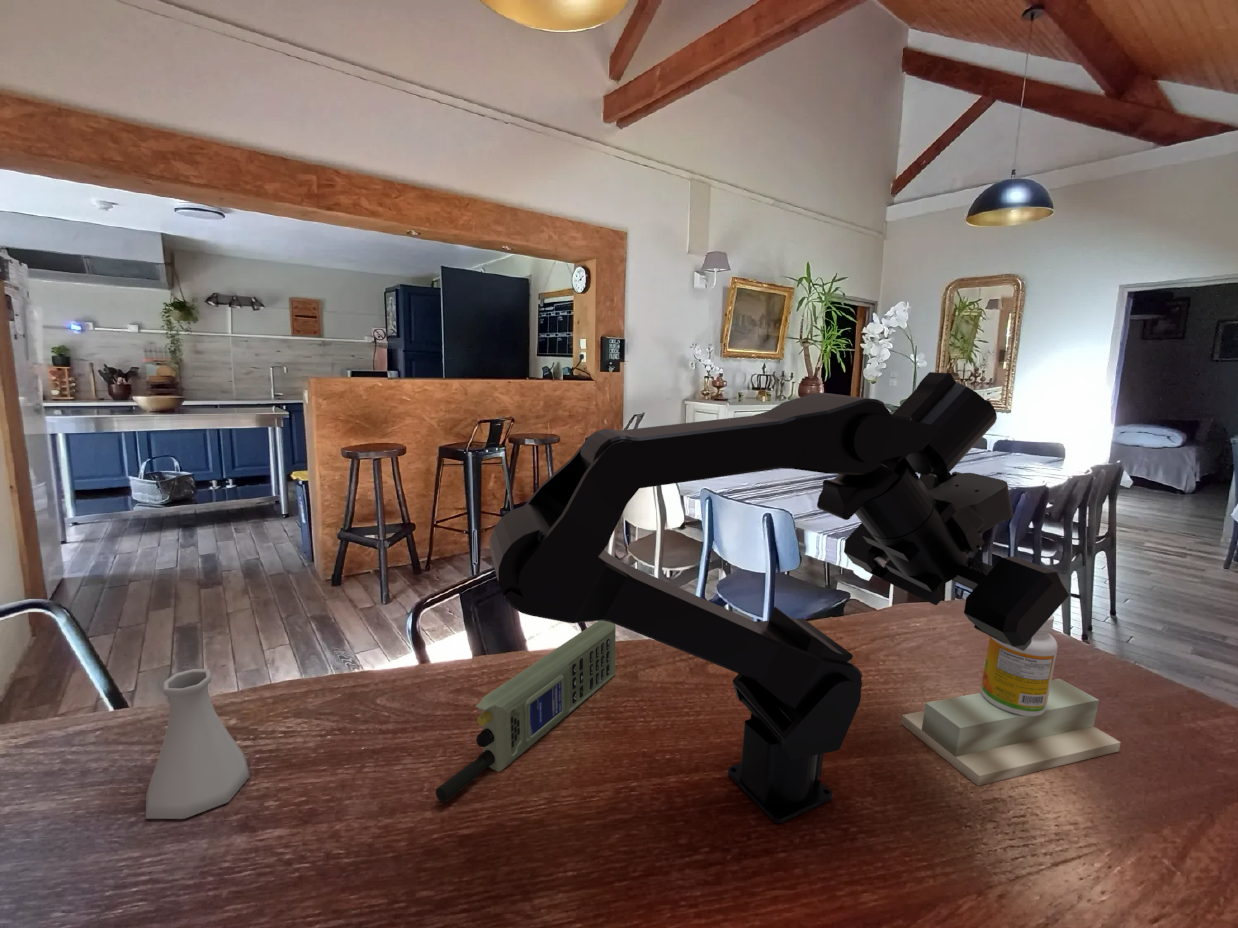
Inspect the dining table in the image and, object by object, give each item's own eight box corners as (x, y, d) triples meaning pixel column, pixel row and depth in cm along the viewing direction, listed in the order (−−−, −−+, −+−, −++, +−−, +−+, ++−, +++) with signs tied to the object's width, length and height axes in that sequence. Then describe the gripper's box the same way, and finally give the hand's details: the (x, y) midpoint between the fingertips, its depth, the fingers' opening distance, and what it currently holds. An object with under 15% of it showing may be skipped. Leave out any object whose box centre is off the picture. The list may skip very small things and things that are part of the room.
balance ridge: (977, 785, 51) (984, 745, 50) (901, 723, 59) (906, 688, 59) (1118, 751, 56) (1126, 714, 56) (1030, 698, 65) (1036, 666, 64)
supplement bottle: (990, 679, 61) (1005, 594, 59) (1052, 704, 57) (1070, 612, 55) (972, 697, 57) (987, 607, 56) (1035, 725, 53) (1054, 628, 52)
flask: (163, 768, 50) (150, 662, 48) (260, 751, 52) (251, 650, 50) (126, 833, 43) (109, 713, 41) (238, 810, 45) (227, 696, 44)
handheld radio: (620, 677, 67) (455, 819, 46) (596, 669, 68) (427, 803, 47) (620, 623, 65) (451, 743, 44) (596, 616, 67) (423, 729, 46)
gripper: (1075, 466, 40) (1149, 600, 45) (882, 430, 58) (951, 530, 63) (971, 581, 39) (1058, 704, 45) (806, 509, 57) (883, 603, 62)
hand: (978, 621), depth 53 cm, fingers open, 9 cm apart
